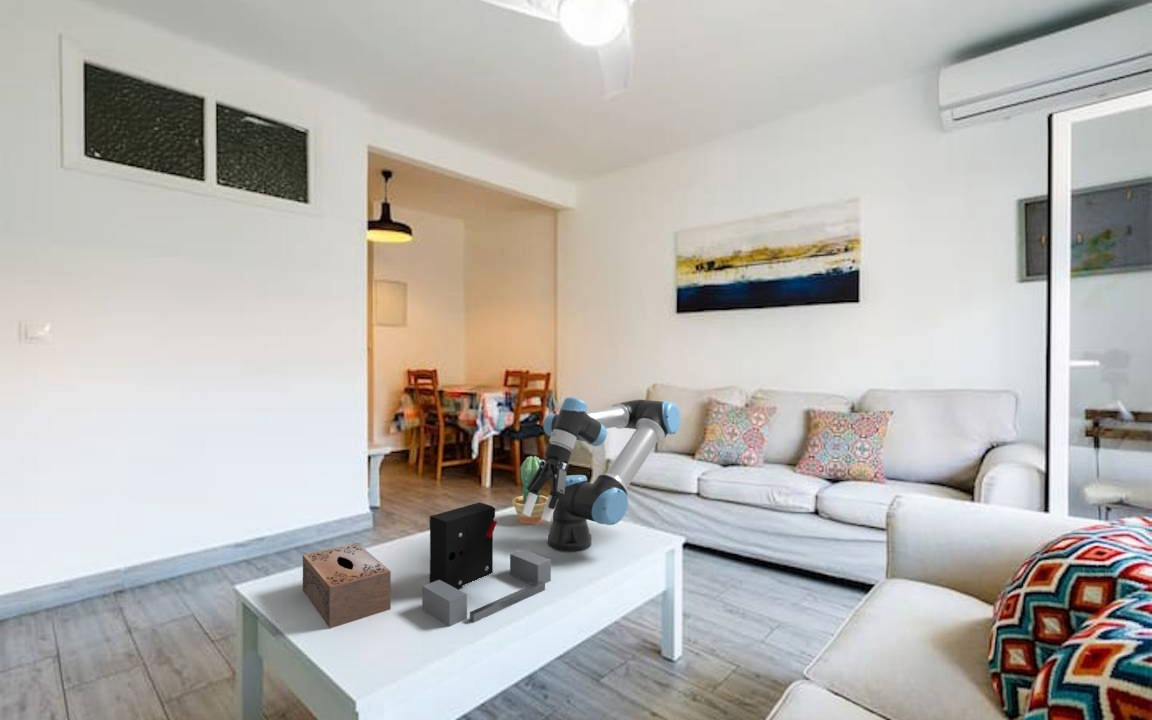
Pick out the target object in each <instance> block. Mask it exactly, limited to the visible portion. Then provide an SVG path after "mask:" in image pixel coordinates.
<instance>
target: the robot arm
mask: <svg viewBox="0 0 1152 720" xmlns="http://www.w3.org/2000/svg"><path fill="white" fill-rule="evenodd" d="M587 409H588V404H587V402H585V401H584V400H582V399H580V398H576V397H573V396H572V397H571V396H569V397H566V398H565V399H564V401H563V402H562V404H561V407H560V409H559V413H550V414H548V415H547V416H545V418H544V420H543V431H544V433H545V434H546V435H547V436H550V438H549V443H548V444H547V446H546V448H545V451H544V453H543V454H544V457H545V458H547V460H546V461H545V460H544V461H545V462H544V461H542V462H541V464H540V466H539V468H538V470H537V472H536V473H535V475H534V477H533V478H532V480H531V482H530V484H529V485H528V487H527V490H529V494H528V497H527V500H526V502H525V505H524V508H523V511H522V514H524V515H527V516H529V517H530V516H531V513H532V510H533V508H534V505H535V502H536V499H537V496H538V495H539V493H538V492H539V490H540V491H541V489H542V488H543V487H544V485H545V484H546V483H547V481H548V480H549V481H550V492H549V493H548V496H547V497H548V499H547V502H546V505H545V508H544V511H543V513H542V516H541V519H543V520H544V521H546V522H549V523H551V525H550V529H549V533H548V535H547V547H549V548H551V549H553V550H556V551H559V552H569V553H570V552H572V553H573V552H580V551H584V550H586V549H589V548H590V547H591V546H592V541H593V540H592V539H593V538H592V535H591V534H590V527H589V525H588V521H592V522H594V523H597V524H599V525H606V526H614V525H616V524H618V523H619V522H620V521H622V519H623V518H624V516H625V515H626V514H627V510H628V508H627V507H628V505H629V498H628V494H629V493H628V490H627V489H628V487H629V486H630V484H631V483H632V481H633V480H634V478H635V477H636V476H637V473H638V472H639V471H640V469H641V468H642V466H643V464H644V463H645V461H646V460H647V459H648V457H649V455H650V453H651V452H652V451H653V449H654V448H655V446H656V445H657V444H658V443H661V442H663V441H664V440H665V438H666V437H667V435H675V434H676V433H677V432H678V431H679V428H680V425H681V415H680V410H679V407H678V406H677V405H676V403H674V402H671V401H667V400H664V401H659V400H650V399H634V400H629V401H622V402H618V403H614V404H612V406H609V407H603V408H602V407H601V408H597V409H590V410H587ZM612 428H616V429H632V430H635V431H634V432H633V433H632V435H631V437H630V438H629V440H628V441H627V442H626V444H625V445H624V447H623V448H622V449H621V451H620V452H619V454H618V455H617V457H616V458H615V459H614V461H613V462H612V464H611V465H610V466H609V468H608V469H607V471H606V472H605V473H601V474H599V475H598V476H597V477H596V479H595V480H594V481H593V482H592V483H591V482H588V478H587V476H586V475H584V474H571V475H567V472H568V469H569V462H570V460H571V456H572V452H571V451H574V447H575V444H576V442H577V441H578V442H579V441H581V442H585V443H587V444H588V445H590V446H592V447H598V446H600V445H602V444H604V442H605V441H606V439H607V435H608V430H607V429H612ZM551 520H552V522H551Z"/></svg>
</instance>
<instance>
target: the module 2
mask: <svg viewBox="0 0 1152 720" xmlns="http://www.w3.org/2000/svg"><path fill="white" fill-rule="evenodd" d="M551 566H552V560H551V559H549V558H547V557H544V556H541V555H539V554H536V553H533V552H531V551H528V550H526V549H523V548H522V549H520V550H517V551H514V552H512V553H510V554H509V574H510V575H511V576H512V577H513V576H514V577H515V578H518V579H520V580H522V581H524V582H527V583H529V584H531V585H533V584H535V583H537V582H539V581H543V582H545V584H547V583H549V582H551V581H552V580H551V579H552V575H551V574H552V569H551V568H552V567H551Z"/></svg>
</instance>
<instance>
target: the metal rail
mask: <svg viewBox="0 0 1152 720" xmlns="http://www.w3.org/2000/svg"><path fill="white" fill-rule="evenodd" d="M545 590H546V583H545V582H543V581H539V582H537V583H535V584H531V585H529V586H526V587H524V588H522V589H518V590H517V591H514V592H512V593H509V594H508V595H505V596H503V597H501V598H499V599H497V600H496V599H495V600H493V601H492V602H490V603H489V602H488V603H487V604H485V605H483V606H481V607H477V608H476V609H474V610H472V611H469V621H470V622H472V623H476V622H478V621H480V620H482V618H483V619H485V618H487V617H489V616H491V615H493V614H495V613H497V612H500V611H502V610H503V609H506V608H509V607H511V606H512V605H514V604H515V605H516V604H517V603H519V602H521V601H524V600H526V599H527V598H530V597H532V596H535V595H536V594H539V593H541V592H543V591H545ZM484 617H485V618H484Z"/></svg>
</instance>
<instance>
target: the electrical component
mask: <svg viewBox="0 0 1152 720" xmlns="http://www.w3.org/2000/svg"><path fill="white" fill-rule="evenodd" d="M495 517H496V507H494V506H493V505H490V504H488V503H487V504H486V503H483V502H476V503H472V504H469V505H464V506H463V507H462V506H461V507H458V508H454V509H450V510H448V511H444V512H441V513H436V514H433V515H429V519H428V523H429V575H428V580H429V583H432V582H435V581H437V580H441V581H443V582H445V583H447V584H449V585H450V586H452V587H454V588H456V589H458V590H459V589H460V590H461V589H462V588H463V587H464V586H466V585H465V584H467V585H469V584H471V583H473V582H472V581H474V582H475V580H476V581H478V580H480V579H479V578H481V579H482V577H483V578H485V577H488V576H489V574H490V575H492V574H493V572H494V570H493V569H494V567H493V564H494V560H493V559H494V557H493V555H494V554H493V553H494V546H493V545H494V530H495V528H496V526H497V524H498V521H496V520H494V519H495ZM491 573H492V574H491ZM487 575H488V576H487ZM484 576H485V577H484ZM477 579H478V580H477ZM470 582H471V583H470ZM429 583H428V584H429ZM468 583H469V584H468ZM463 585H464V586H463Z"/></svg>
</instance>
